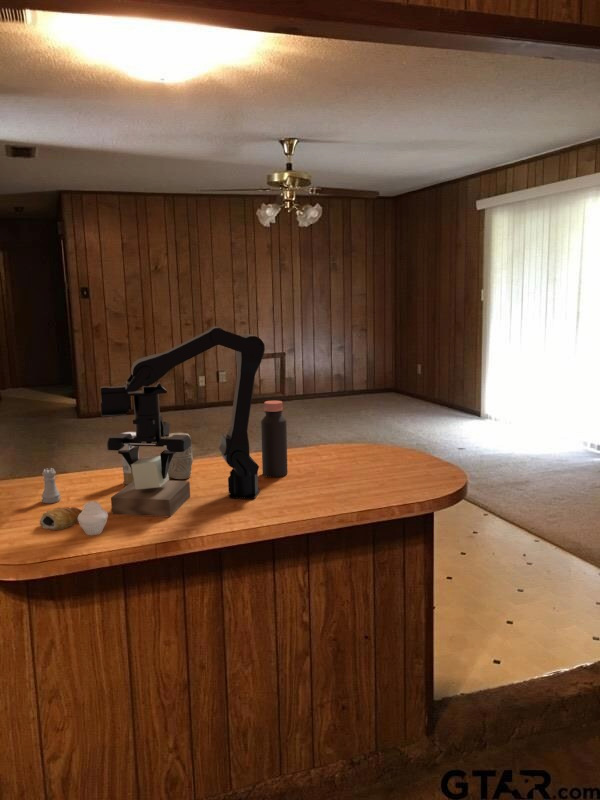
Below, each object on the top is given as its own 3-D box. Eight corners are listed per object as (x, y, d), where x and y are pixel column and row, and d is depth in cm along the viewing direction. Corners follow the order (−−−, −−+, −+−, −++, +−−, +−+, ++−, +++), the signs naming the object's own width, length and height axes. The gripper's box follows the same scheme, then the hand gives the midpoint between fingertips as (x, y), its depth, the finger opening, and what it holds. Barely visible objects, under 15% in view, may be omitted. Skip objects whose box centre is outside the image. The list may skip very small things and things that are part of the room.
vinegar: (292, 472, 184) (290, 401, 181) (278, 479, 179) (276, 405, 175) (271, 469, 188) (270, 398, 184) (257, 475, 182) (255, 403, 179)
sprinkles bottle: (143, 483, 177) (140, 433, 174) (126, 486, 174) (123, 436, 172) (137, 479, 181) (134, 430, 178) (120, 482, 178) (117, 433, 176)
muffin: (109, 536, 142) (106, 504, 140) (78, 539, 140) (76, 507, 139) (108, 525, 147) (106, 495, 146) (79, 529, 146) (76, 498, 144)
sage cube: (169, 479, 161) (164, 455, 160) (159, 487, 156) (155, 462, 155) (145, 481, 163) (141, 457, 162) (135, 489, 157) (131, 464, 156)
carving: (197, 478, 181) (195, 434, 179) (171, 483, 177) (169, 438, 175) (187, 472, 186) (185, 430, 184) (161, 477, 182) (159, 434, 180)
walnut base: (190, 496, 166) (189, 481, 165) (170, 516, 152) (169, 499, 151) (136, 494, 168) (135, 479, 167) (112, 514, 154) (110, 497, 154)
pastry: (71, 514, 155) (69, 498, 155) (91, 519, 152) (90, 503, 151) (37, 527, 147) (35, 511, 147) (58, 533, 144) (57, 516, 143)
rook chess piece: (64, 498, 166) (62, 467, 164) (52, 504, 162) (50, 472, 160) (49, 497, 167) (47, 466, 166) (37, 503, 163) (34, 471, 162)
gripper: (196, 406, 162) (199, 469, 165) (123, 405, 165) (128, 467, 168) (181, 416, 151) (184, 483, 154) (103, 415, 155) (108, 480, 157)
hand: (151, 477), depth 159 cm, fingers closed on sage cube, 6 cm apart
